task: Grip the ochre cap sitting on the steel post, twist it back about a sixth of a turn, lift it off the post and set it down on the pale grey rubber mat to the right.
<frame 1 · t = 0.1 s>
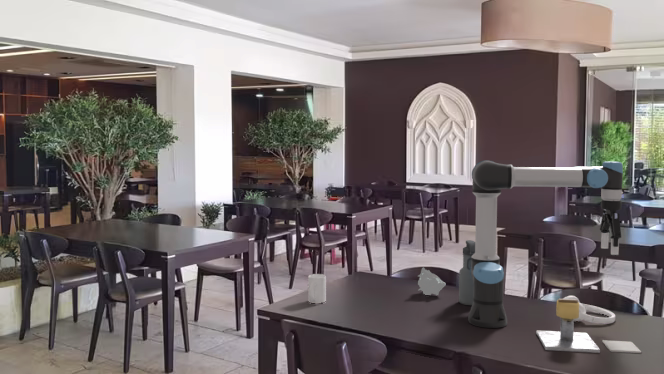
hand: (609, 251, 241), 28 cm above the table, tool pointing down, fingers open, 13 cm apart
headphones: (588, 318, 244), on the table
pale gray rounded block: (315, 303, 267), on the table
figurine: (431, 295, 281), on the table
mat: (621, 347, 210), on the table
cap: (567, 315, 214), point 10 cm above the table, touching post fixture
post fixture: (566, 342, 214), on the table
water bottle: (469, 303, 267), on the table
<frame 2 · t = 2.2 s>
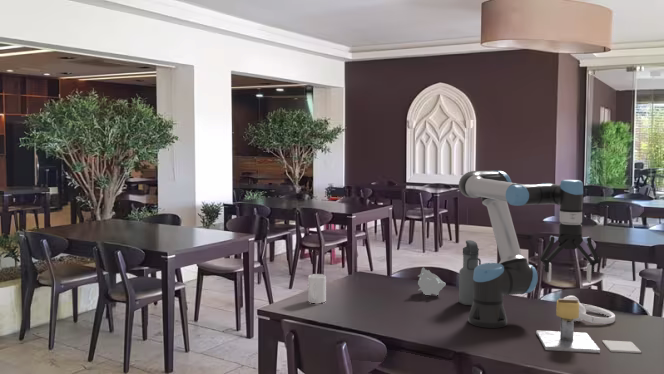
hand: (568, 281, 213), 22 cm above the table, tool pointing down, fingers open, 13 cm apart
nothing on the table moved.
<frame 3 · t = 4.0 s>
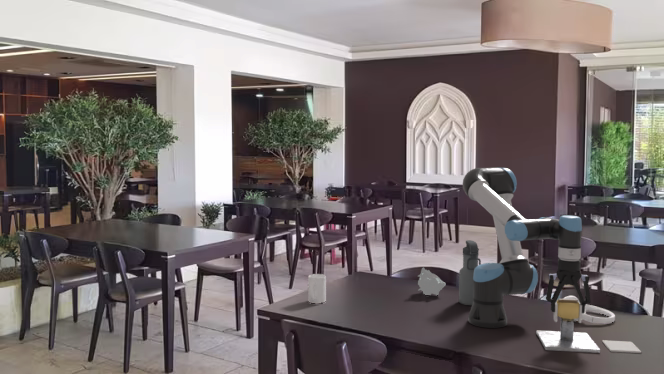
hand: (567, 321, 214), 8 cm above the table, tool pointing down, fingers closed on cap, 7 cm apart
cap: (567, 315, 214), point 10 cm above the table, touching gripper, post fixture
everything else where it was.
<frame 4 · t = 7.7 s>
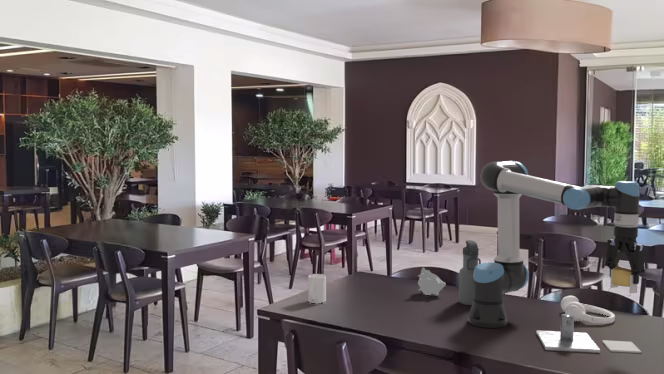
hand: (623, 289, 208), 21 cm above the table, tool pointing down, fingers closed on cap, 7 cm apart
cap: (623, 284, 208), point 23 cm above the table, touching gripper
everything else where it was.
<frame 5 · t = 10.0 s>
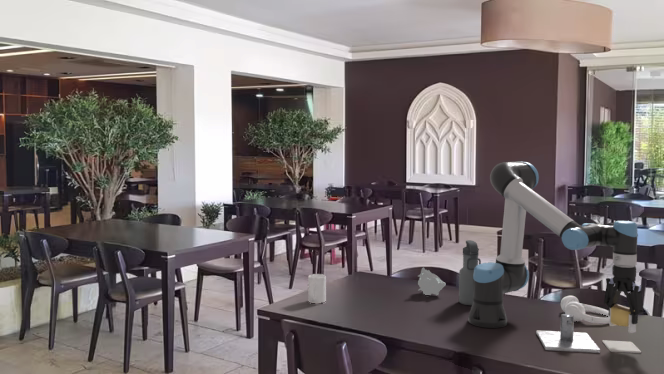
hand: (622, 328, 209), 7 cm above the table, tool pointing down, fingers closed on cap, 7 cm apart
cap: (622, 323, 209), point 9 cm above the table, touching gripper
everything else where it was.
when the fingers open (1 cm above the table, at t = 11.7 s): cap drops 3 cm, resting on mat.
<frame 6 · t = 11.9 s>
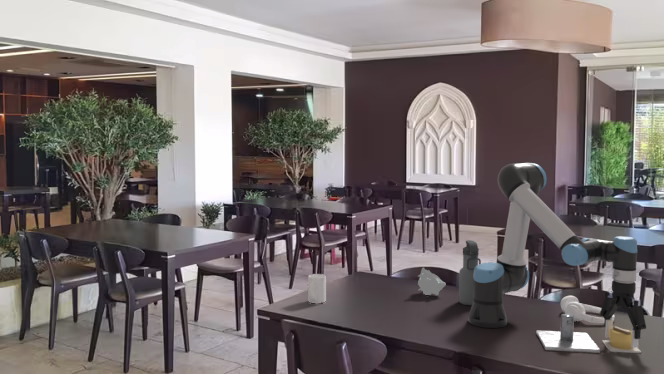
hand: (621, 342, 209), 2 cm above the table, tool pointing down, fingers open, 10 cm apart
cap: (621, 345, 210), point 1 cm above the table, touching mat
everything else where it was.
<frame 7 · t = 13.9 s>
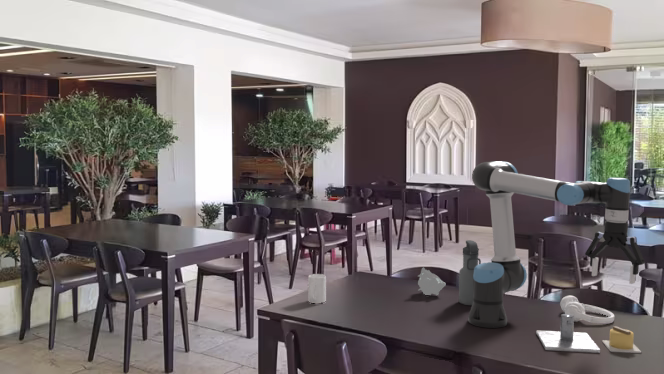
hand: (612, 279, 213), 23 cm above the table, tool pointing down, fingers open, 13 cm apart
nothing on the table moved.
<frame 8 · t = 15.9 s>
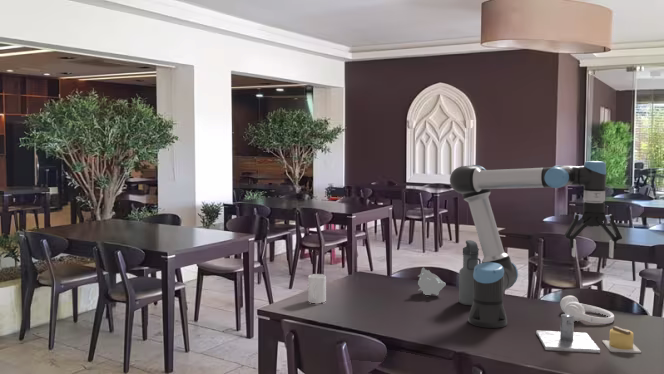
hand: (592, 257, 226), 29 cm above the table, tool pointing down, fingers open, 13 cm apart
nothing on the table moved.
at the end: cap inside the target area on the mat (0.1 cm from its centre), point 0.6 cm above the mat's base; cap touching mat; cap tilted 0° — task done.
